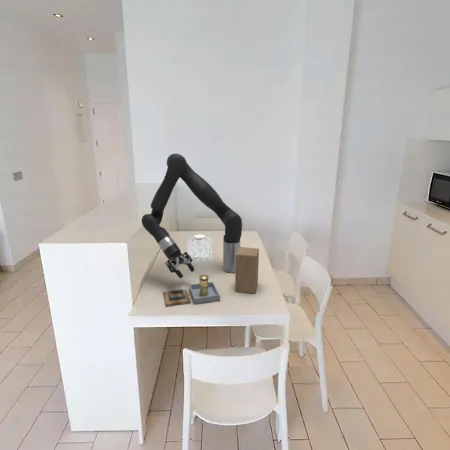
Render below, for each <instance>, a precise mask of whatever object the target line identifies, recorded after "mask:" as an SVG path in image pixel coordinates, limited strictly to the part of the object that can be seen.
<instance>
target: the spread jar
mask: <svg viewBox="0 0 450 450" xmlns="http://www.w3.org/2000/svg"><path fill="white" fill-rule="evenodd" d="M194 239H196V240H202V239H206V235H205V234H202V233H201V234H199V233H198V234H195V235H194V236H193V240H194Z"/></svg>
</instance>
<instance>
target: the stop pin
mask: <svg viewBox="0 0 450 450" xmlns="http://www.w3.org/2000/svg"><path fill="white" fill-rule="evenodd" d="M208 282H209V275H207V274H201V275H199V283H200V296H203V297H205V296H207V295H208Z"/></svg>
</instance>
